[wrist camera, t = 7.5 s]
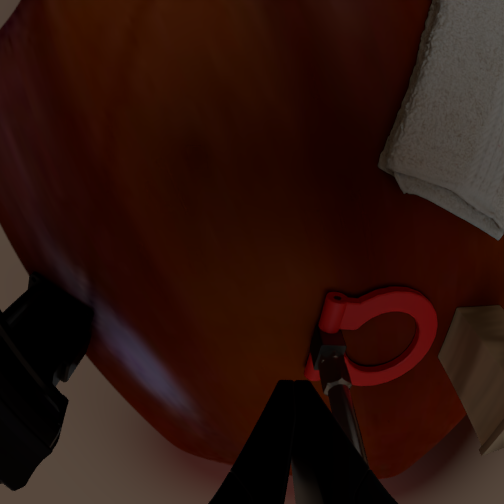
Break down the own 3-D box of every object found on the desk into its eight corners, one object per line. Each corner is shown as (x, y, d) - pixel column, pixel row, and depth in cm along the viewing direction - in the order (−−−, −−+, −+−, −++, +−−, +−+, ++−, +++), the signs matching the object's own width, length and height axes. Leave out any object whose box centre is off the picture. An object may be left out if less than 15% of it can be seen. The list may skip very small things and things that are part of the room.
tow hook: (447, 287, 21) (326, 275, 20) (550, 424, 8) (393, 476, 8) (406, 374, 24) (298, 374, 24) (459, 507, 12) (317, 540, 11)
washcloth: (366, 175, 18) (383, 186, 15) (432, -46, 11) (451, -62, 8) (494, 238, 19) (516, 254, 16) (546, 43, 12) (570, 42, 9)
